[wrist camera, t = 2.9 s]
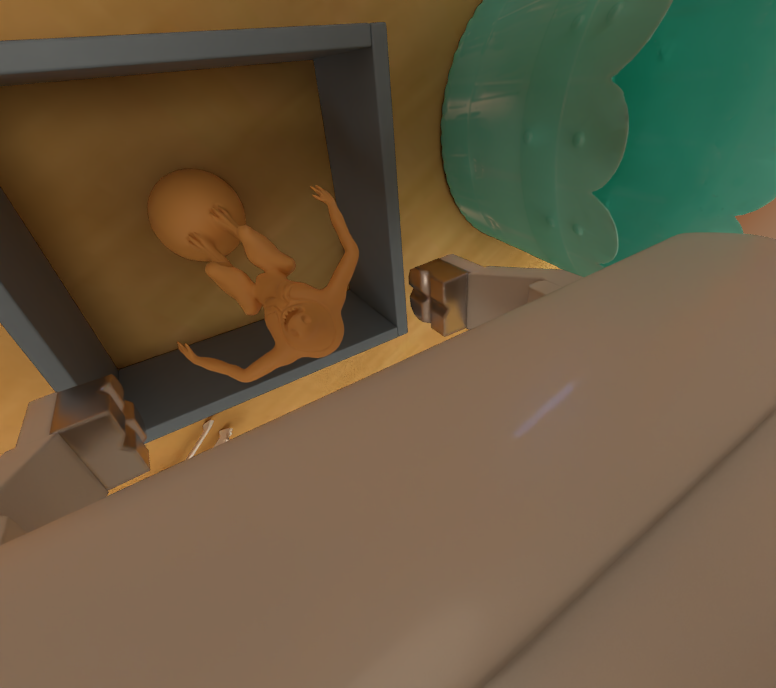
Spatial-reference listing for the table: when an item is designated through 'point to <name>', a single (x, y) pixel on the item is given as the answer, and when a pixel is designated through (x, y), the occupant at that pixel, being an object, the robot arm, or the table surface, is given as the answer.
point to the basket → (611, 123)
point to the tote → (247, 344)
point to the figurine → (272, 288)
